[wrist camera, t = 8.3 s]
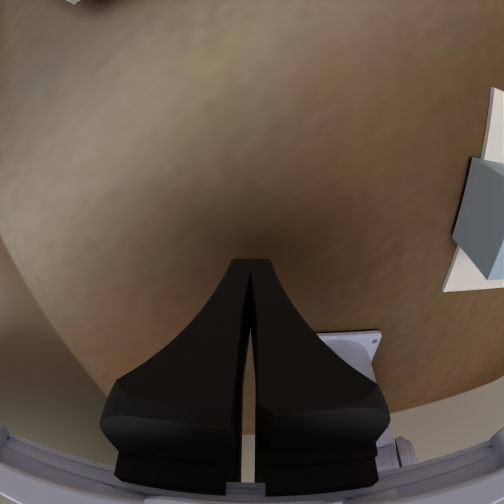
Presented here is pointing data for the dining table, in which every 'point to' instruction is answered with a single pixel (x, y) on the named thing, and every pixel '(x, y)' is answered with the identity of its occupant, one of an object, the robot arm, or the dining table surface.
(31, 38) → the dining table surface
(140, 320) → the dining table surface
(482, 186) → the block
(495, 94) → the mat
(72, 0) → the die
